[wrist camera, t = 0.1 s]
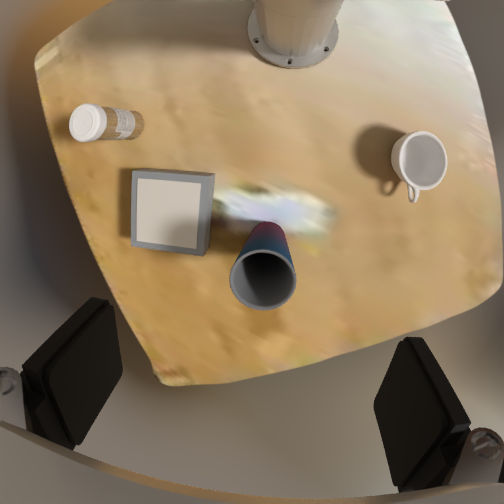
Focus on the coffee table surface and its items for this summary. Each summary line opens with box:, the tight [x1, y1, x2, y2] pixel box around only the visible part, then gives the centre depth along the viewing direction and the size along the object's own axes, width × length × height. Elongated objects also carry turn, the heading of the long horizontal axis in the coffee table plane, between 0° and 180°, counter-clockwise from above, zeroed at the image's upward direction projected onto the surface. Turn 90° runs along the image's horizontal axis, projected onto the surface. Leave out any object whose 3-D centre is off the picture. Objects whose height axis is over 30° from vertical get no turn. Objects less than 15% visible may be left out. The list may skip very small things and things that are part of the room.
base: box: [131, 168, 215, 256], centre depth 44 cm, size 11×11×4 cm
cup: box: [230, 222, 296, 310], centre depth 39 cm, size 7×7×15 cm
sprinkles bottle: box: [69, 103, 144, 142], centre depth 36 cm, size 5×5×13 cm
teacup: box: [391, 131, 447, 203], centre depth 38 cm, size 10×8×5 cm
